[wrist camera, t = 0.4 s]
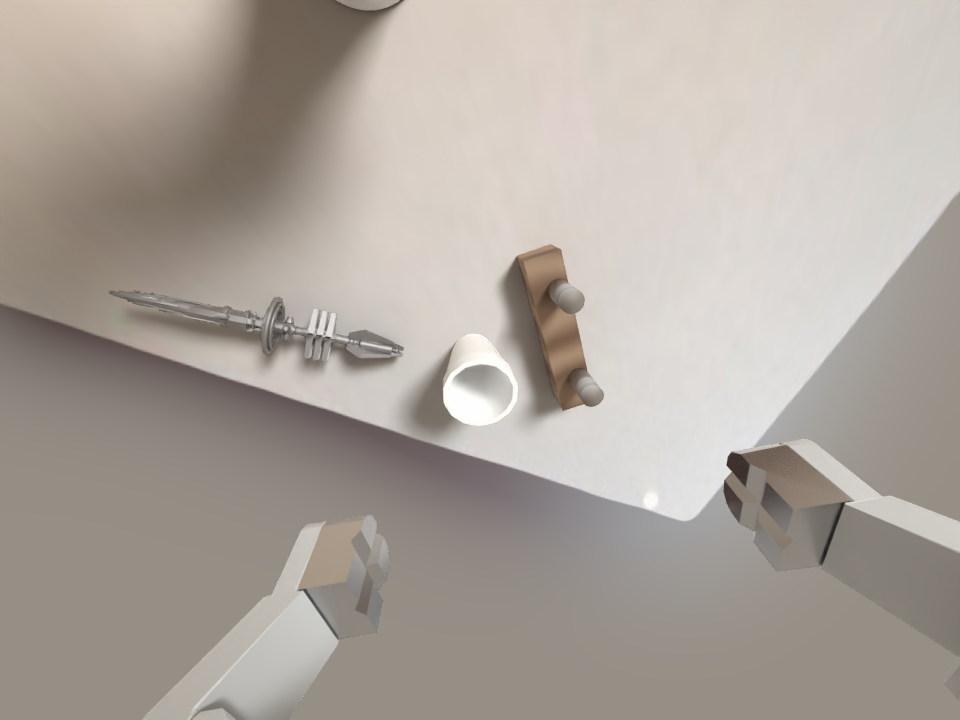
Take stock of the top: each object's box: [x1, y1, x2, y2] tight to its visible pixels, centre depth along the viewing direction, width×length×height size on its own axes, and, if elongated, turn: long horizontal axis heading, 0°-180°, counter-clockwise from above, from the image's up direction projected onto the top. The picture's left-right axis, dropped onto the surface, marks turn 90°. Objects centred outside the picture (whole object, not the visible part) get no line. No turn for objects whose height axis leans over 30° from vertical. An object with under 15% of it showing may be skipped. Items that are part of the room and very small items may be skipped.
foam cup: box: [443, 334, 518, 426], centre depth 53 cm, size 10×9×13 cm
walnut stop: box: [517, 244, 604, 411], centre depth 53 cm, size 24×5×11 cm, turn 18°
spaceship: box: [108, 290, 404, 362], centre depth 50 cm, size 8×35×8 cm
